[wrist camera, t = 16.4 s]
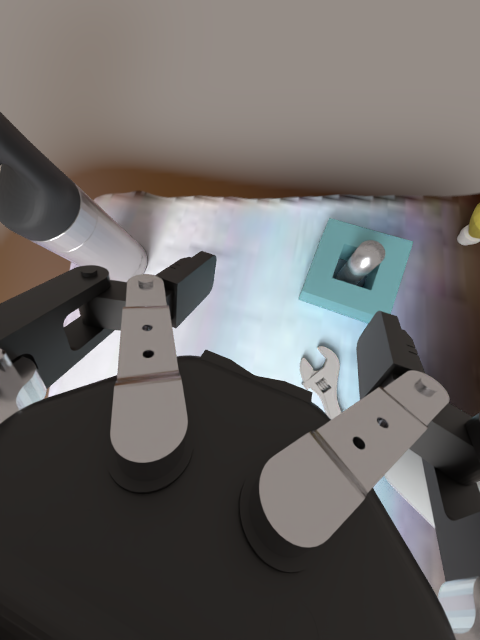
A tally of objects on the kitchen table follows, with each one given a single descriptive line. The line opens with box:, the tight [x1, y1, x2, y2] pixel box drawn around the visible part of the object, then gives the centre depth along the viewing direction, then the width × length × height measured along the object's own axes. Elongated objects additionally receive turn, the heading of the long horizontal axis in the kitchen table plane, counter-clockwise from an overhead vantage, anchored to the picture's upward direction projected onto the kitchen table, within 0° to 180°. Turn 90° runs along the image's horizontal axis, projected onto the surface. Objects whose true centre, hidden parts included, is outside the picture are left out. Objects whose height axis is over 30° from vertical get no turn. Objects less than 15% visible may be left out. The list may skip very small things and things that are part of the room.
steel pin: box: [336, 240, 385, 285], centre depth 37 cm, size 4×4×10 cm
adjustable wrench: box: [300, 346, 341, 420], centre depth 38 cm, size 25×6×2 cm, turn 10°
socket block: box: [299, 218, 413, 324], centre depth 40 cm, size 13×13×5 cm
